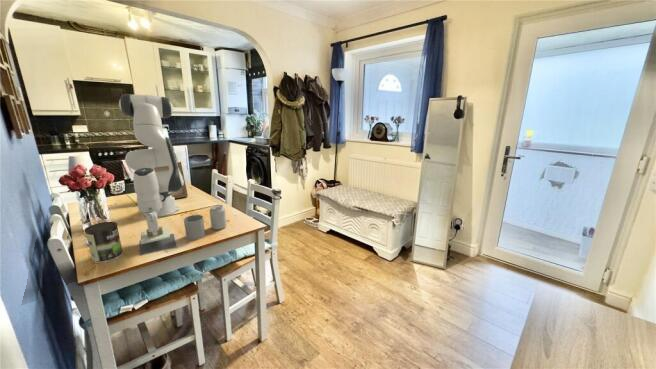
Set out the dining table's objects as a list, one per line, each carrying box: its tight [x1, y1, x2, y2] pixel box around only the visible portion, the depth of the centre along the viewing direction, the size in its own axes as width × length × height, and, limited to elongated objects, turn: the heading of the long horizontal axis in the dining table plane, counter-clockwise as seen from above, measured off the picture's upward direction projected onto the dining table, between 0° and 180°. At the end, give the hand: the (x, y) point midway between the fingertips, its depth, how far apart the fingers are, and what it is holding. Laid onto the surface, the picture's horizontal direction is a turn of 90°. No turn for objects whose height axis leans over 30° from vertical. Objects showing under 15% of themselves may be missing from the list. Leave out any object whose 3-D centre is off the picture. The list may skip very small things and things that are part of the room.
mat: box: [138, 233, 178, 257], centre depth 122 cm, size 16×14×1 cm
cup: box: [183, 214, 206, 241], centre depth 128 cm, size 8×8×10 cm
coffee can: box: [84, 221, 124, 264], centre depth 109 cm, size 10×10×14 cm
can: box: [209, 204, 227, 231], centre depth 139 cm, size 8×8×12 cm
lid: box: [140, 226, 171, 244], centre depth 121 cm, size 11×11×3 cm
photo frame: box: [154, 161, 189, 199], centre depth 181 cm, size 15×22×25 cm
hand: (155, 232), depth 121 cm, fingers closed on lid, 3 cm apart
